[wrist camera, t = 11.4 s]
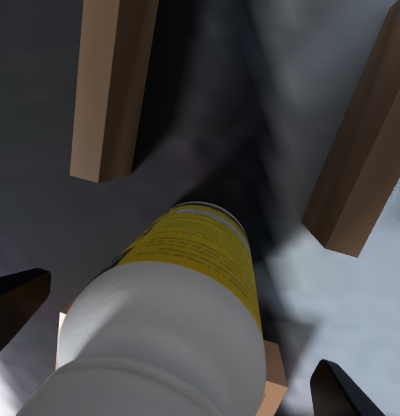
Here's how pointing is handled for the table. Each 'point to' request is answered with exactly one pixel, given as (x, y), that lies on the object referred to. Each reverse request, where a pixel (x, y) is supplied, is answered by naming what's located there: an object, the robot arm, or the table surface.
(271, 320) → the table surface
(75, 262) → the table surface
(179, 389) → the supplement bottle
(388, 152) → the walled lane
